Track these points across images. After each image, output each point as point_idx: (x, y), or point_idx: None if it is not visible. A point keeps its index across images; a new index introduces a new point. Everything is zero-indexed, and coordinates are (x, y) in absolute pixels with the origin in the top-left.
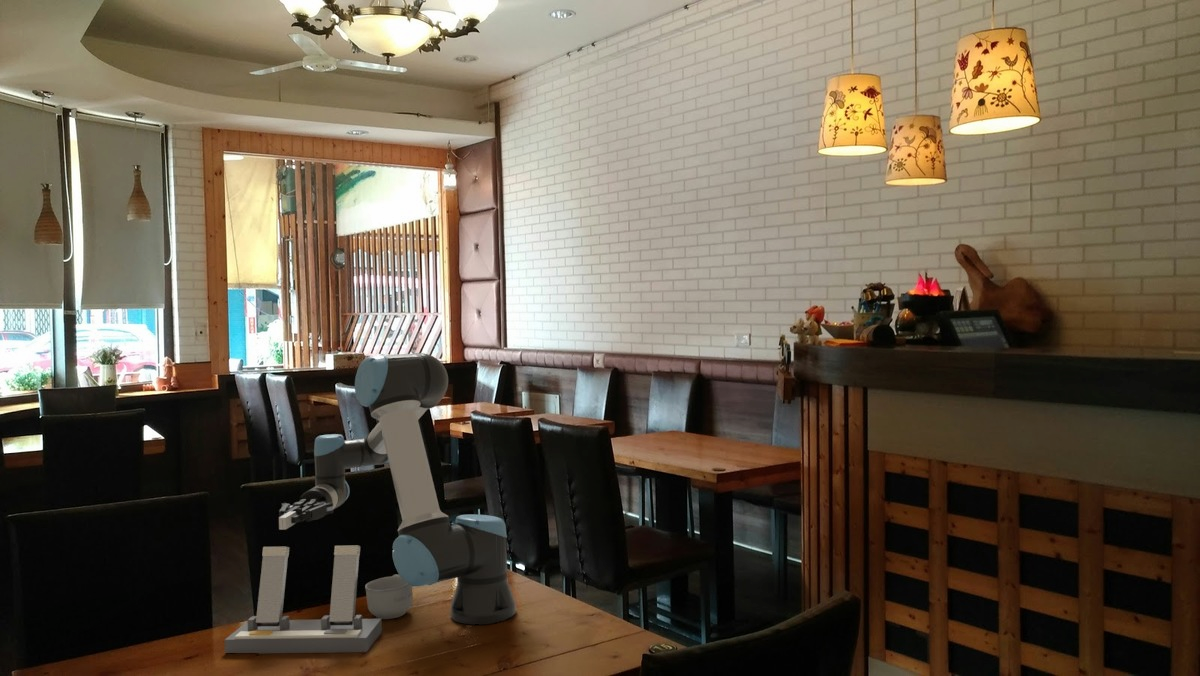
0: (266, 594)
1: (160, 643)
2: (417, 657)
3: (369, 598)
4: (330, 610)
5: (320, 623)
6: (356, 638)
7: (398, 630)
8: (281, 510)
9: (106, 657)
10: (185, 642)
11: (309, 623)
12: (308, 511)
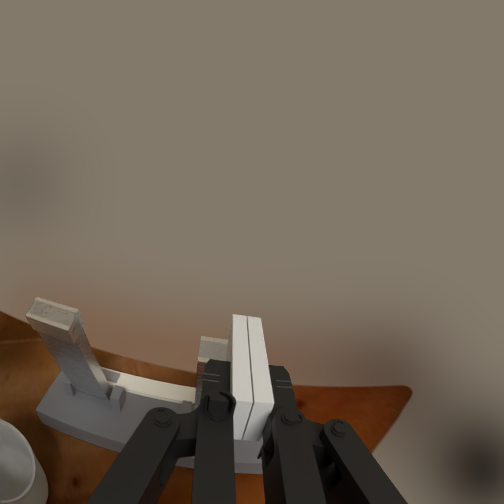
0: None
1: (371, 437)
2: (30, 342)
3: (37, 460)
4: (107, 382)
5: (129, 427)
6: None
7: (20, 418)
8: (339, 424)
9: (389, 402)
10: None
11: None
12: (157, 409)
